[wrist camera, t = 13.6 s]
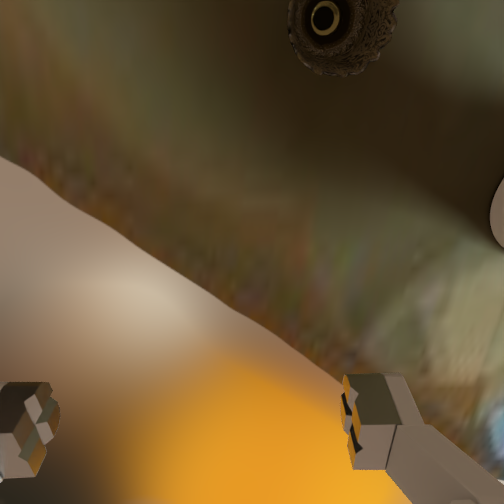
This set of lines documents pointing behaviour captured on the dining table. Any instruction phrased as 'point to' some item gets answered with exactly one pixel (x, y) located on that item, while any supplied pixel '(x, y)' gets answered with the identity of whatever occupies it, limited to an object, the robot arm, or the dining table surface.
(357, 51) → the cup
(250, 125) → the dining table surface
